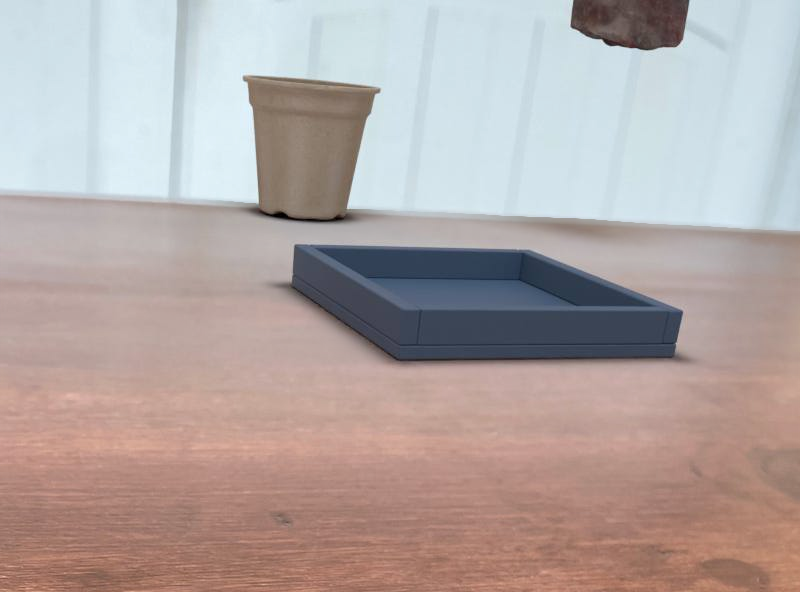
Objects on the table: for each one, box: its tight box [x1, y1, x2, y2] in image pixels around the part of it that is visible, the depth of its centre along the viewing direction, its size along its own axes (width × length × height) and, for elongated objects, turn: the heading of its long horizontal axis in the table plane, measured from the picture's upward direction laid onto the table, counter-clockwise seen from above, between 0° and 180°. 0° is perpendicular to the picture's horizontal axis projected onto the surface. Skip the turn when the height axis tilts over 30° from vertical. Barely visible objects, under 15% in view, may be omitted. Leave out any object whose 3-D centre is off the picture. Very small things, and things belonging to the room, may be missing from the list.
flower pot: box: [242, 74, 382, 221], centre depth 83 cm, size 9×9×9 cm
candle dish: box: [291, 243, 684, 361], centre depth 57 cm, size 14×15×2 cm
